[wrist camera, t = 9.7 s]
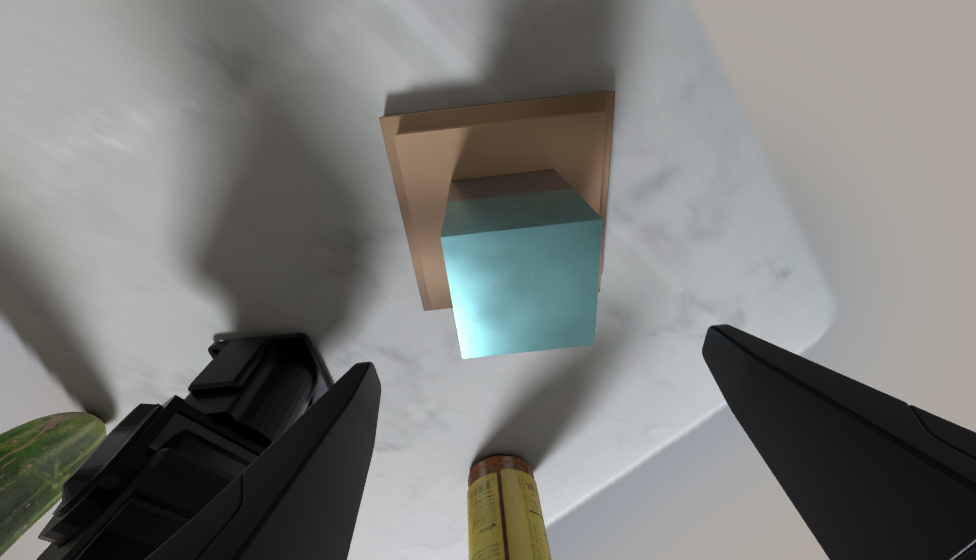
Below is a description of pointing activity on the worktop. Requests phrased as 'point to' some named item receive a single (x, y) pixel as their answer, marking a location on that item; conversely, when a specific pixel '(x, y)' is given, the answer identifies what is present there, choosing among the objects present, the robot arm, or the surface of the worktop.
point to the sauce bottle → (505, 512)
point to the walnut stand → (491, 163)
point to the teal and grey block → (521, 263)
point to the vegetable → (40, 467)
